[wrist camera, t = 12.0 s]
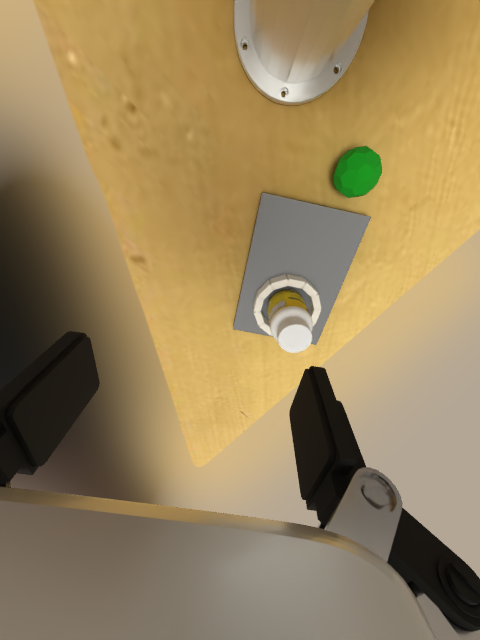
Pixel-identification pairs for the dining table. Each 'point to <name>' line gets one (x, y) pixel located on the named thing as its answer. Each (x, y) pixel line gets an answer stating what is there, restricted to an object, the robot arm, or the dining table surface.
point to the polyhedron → (357, 172)
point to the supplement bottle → (290, 320)
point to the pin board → (297, 259)
